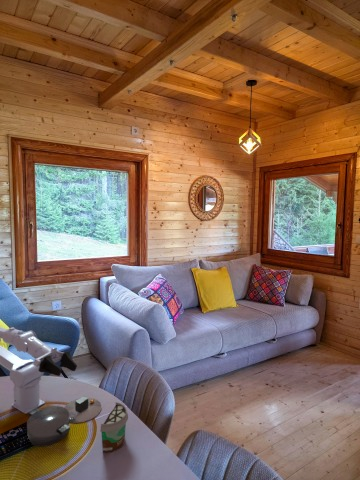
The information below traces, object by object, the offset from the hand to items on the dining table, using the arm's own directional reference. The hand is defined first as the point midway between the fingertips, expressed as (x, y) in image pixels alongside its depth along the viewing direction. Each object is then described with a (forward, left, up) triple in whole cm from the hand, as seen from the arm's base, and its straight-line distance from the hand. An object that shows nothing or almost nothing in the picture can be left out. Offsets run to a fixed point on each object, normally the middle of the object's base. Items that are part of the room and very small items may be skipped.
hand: (68, 370), depth 110 cm
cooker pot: (-2, -7, -19) cm, 20 cm away
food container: (+21, +2, -19) cm, 29 cm away
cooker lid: (-2, +7, -19) cm, 21 cm away
